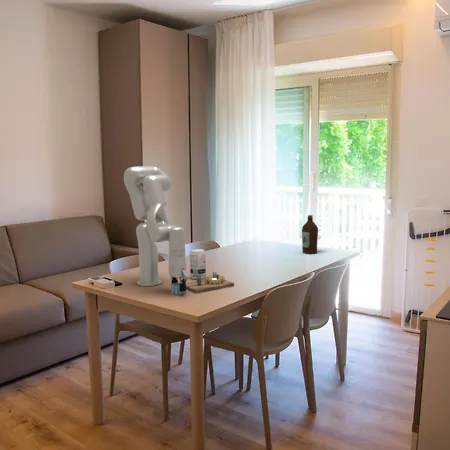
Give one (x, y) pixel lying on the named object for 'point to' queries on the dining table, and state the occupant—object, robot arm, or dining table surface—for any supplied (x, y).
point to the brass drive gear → (214, 279)
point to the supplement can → (197, 263)
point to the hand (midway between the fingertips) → (178, 289)
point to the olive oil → (309, 236)
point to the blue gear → (176, 289)
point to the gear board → (205, 285)
